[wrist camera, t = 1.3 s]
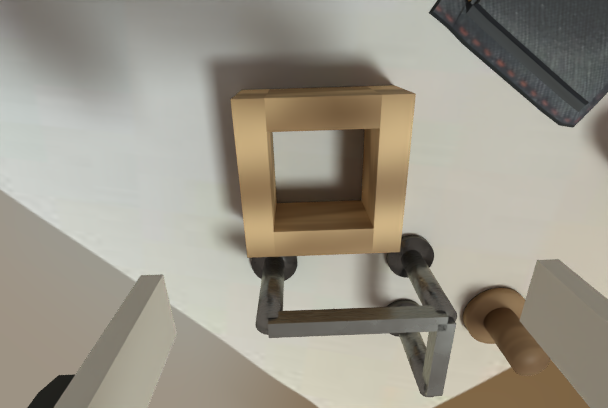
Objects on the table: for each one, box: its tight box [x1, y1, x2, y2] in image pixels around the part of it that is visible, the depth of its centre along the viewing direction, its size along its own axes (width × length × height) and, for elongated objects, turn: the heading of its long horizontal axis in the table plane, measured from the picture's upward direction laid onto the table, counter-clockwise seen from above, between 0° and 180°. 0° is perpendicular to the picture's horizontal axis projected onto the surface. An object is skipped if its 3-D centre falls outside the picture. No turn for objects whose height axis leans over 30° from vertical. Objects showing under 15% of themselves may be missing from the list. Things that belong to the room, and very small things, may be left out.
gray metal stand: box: [251, 235, 457, 397], centre depth 29 cm, size 11×16×9 cm
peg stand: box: [463, 288, 550, 376], centre depth 32 cm, size 6×6×6 cm
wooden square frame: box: [230, 85, 416, 258], centre depth 25 cm, size 11×11×5 cm
